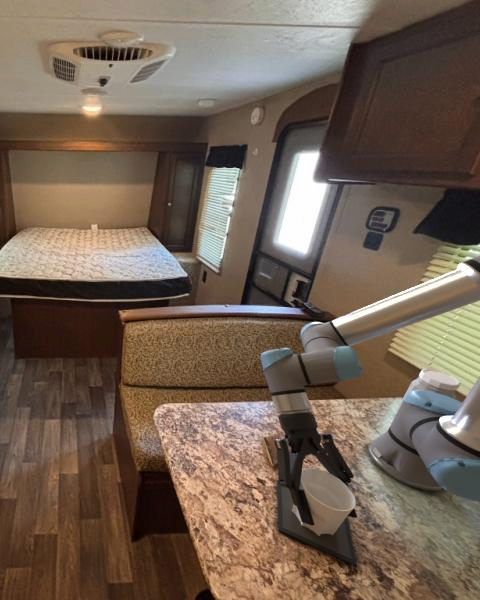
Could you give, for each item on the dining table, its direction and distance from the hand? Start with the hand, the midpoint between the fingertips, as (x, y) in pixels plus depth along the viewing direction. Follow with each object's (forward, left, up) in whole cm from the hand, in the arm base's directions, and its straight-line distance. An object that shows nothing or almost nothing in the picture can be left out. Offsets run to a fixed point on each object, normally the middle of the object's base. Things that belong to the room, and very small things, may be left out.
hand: (329, 519), depth 69 cm
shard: (+8, -20, -5) cm, 22 cm away
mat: (+2, -2, -5) cm, 5 cm away
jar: (-31, -57, -5) cm, 65 cm away
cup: (+2, -2, -4) cm, 5 cm away
